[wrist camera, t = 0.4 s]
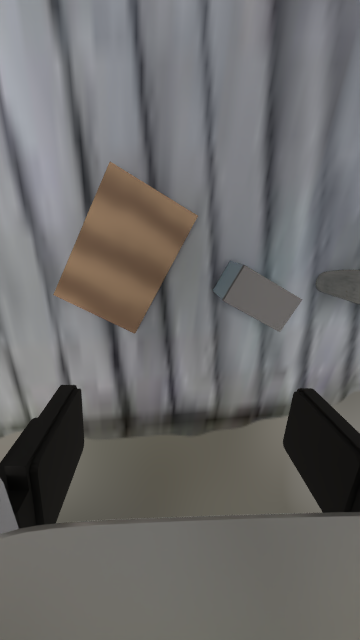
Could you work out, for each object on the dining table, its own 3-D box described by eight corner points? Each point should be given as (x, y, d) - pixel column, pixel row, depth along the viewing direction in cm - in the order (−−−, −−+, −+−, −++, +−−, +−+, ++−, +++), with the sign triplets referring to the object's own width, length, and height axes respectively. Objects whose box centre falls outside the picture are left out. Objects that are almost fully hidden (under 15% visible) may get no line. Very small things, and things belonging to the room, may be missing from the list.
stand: (114, 168, 32) (109, 161, 29) (194, 217, 35) (197, 215, 32) (61, 290, 37) (53, 294, 34) (136, 326, 39) (134, 333, 36)
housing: (230, 260, 37) (244, 265, 31) (278, 289, 39) (302, 299, 32) (212, 290, 38) (223, 300, 32) (260, 316, 40) (279, 332, 34)
